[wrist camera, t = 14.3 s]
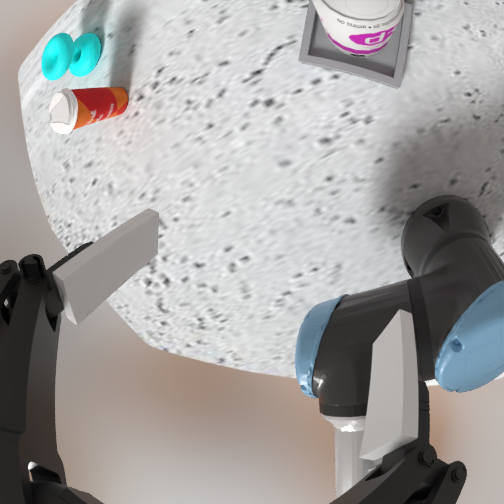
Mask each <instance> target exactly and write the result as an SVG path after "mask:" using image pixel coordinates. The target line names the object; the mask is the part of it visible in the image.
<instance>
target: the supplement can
mask: <svg viewBox="0 0 504 504" xmlns="http://www.w3.org/2000/svg"><path fill="white" fill-rule="evenodd" d="M312 1H313V4H314V6H315V8H316V10H317V13H318V15H319V17H320V19H321V22H322V24H323V27H324V29H325V31H326V34H327V36H328V39H329V40H330V41H331V43H332V44H333V45H334V46H335V47H336V48H337V49H339V50H340V51H342V52H343V53H345V54H348V55H351V56H354V57H370V56H374V55H377V54H378V53H380V52H381V51H382V50H383V49H385V47H386V45H387V43H388V41H389V39H390V38H391V36H392V34H393V32H394V30H395V28H396V26H397V25H398V23H399V21H400V19H401V17H402V15H403V13H404V11H405V5H404V0H312Z"/></svg>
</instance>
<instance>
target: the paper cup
mask: <svg viewBox="0 0 504 504" xmlns="http://www.w3.org/2000/svg"><path fill="white" fill-rule="evenodd" d="M127 105H128V95H127V92H126V91H125V90H124V89H123V88H120V87H104V88H86V89H74V90H70V89H67V88H66V89H63V90H61V91H60V92H58V93H57V94H55V95H54V97H53V98H52V100H51V103H50V107H49V112H50V121H51V126H52V128H53V130H54V131H55V132H57V133H63V134H68V133H70V132H71V131H72V130H74V129H76V128H79V127H82V126H85V125H88V124H91V123H94V122H97V121H100V120H104V119H107V118H110V117H114V116H117V115H120V114H122V113H123V112H124V111H125V110H126V108H127Z"/></svg>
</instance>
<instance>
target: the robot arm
mask: <svg viewBox="0 0 504 504" xmlns="http://www.w3.org/2000/svg"><path fill="white" fill-rule="evenodd" d="M158 224H159V213H158V212H156V211H153V210H151V209H146V210H145V211H143V212H141V213H140V214H138V215H136V216H135V217H133V218H132V219H130V220H128V221H127V222H125V223H124V224H122V225H120V226H119V227H117V228H116V229H114V230H113V231H111V232H110V233H108V234H106V235H105V236H103V237H102V238H100V239H99V240H97V241H96V242H89V243H86V244H83V245H81V246H80V247H78V248H77V249H75V250H74V251H72V252H71V253H69V254H68V256H65V257H64V258H62V259H61V260H60V261H58V262H57V263H55V264H54V265H53V266H51V267H50V268H49V269H48V270H46V268H45V265H44V261H43V258H42V257H41V256H40V255H37V254H31V255H28V256H25V257H24V258H23V259H21V260H20V262H19V263H18V265H19V268H20V270H19V268H18V265H17V263H16V262H15V261H13V260H7V261H4V262H3V263H1V264H0V504H103V503H102V502H100V501H99V500H98V499H96V498H95V497H93V496H92V495H91V494H89V493H86V492H82V491H79V490H77V489H74V488H72V487H68V486H67V484H66V478H65V471H64V466H63V463H62V460H61V458H60V456H59V454H58V452H57V444H56V429H55V375H56V360H57V348H58V339H59V331H60V323H61V313H60V312H61V311H63V310H65V313H66V315H67V318H69V319H70V320H71V321H72V322H73V323H75V324H76V325H79V324H80V323H81V322H82V321H83V320H84V319H85V318H86V317H87V316H88V315H90V314H91V313H92V312H93V311H94V310H95V309H96V308H97V307H98V306H99V305H100V304H101V303H102V302H103V301H105V300H106V299H107V298H108V297H109V296H110V295H111V294H112V293H114V292H115V291H116V290H117V289H118V288H119V287H120V286H121V285H122V284H124V283H125V282H126V281H127V280H128V279H129V278H130V277H132V276H133V275H134V274H135V273H136V272H137V271H138V270H140V269H141V268H142V267H143V266H144V265H145V264H147V263H148V262H149V261H150V260H151V259H153V258H154V257H155V256H156V255H157V254H158ZM401 251H402V256H403V261H404V264H405V267H406V269H407V271H408V273H409V275H410V276H411V278H412V279H408V280H404V281H400V282H397V283H394V284H390V285H387V286H383V287H380V288H376V289H372V290H369V291H365V292H361V293H356V294H352V295H348V294H344V295H341V296H340V297H339V298H336V299H333V300H329V301H326V302H322V303H319V304H317V305H315V306H314V307H313V308H312V309H311V310H310V311H309V312H308V313H307V315H306V316H305V318H304V321H303V323H302V325H301V327H300V330H299V333H298V338H297V343H296V353H295V368H296V376H297V380H298V383H299V384H300V385H301V390H302V392H303V393H304V394H305V395H307V396H310V397H312V398H319V406H320V415H321V416H322V417H324V418H325V419H326V420H328V421H329V422H331V423H332V424H333V426H334V436H335V462H336V500H334V501H333V502H332V503H330V504H456V502H457V499H458V497H459V495H460V493H461V490H462V488H463V485H464V483H465V480H466V476H467V470H466V467H465V465H464V464H463V463H462V462H460V461H455V462H453V463H451V464H447V463H445V462H443V461H441V460H440V459H438V458H437V455H436V451H435V449H434V447H433V446H431V445H430V444H429V431H430V428H429V427H430V423H429V422H430V417H429V416H430V414H429V391H428V389H427V386H426V383H425V382H423V381H427V380H431V379H436V381H437V382H438V383H439V385H440V386H441V387H442V388H443V389H444V390H447V391H449V392H453V391H456V392H467V391H471V390H474V389H477V388H479V387H481V386H483V385H485V384H487V383H489V382H490V381H492V380H493V379H495V378H496V377H498V376H499V375H500V374H501V373H503V372H504V263H503V261H502V260H501V258H500V257H499V256H498V254H497V253H496V251H495V250H494V249H493V247H492V246H491V242H490V238H489V232H488V228H487V225H486V222H485V220H484V218H483V217H482V215H481V214H480V212H479V211H478V210H477V209H476V208H475V207H474V206H473V205H472V204H471V203H470V202H468V201H467V200H465V199H463V198H460V197H456V196H440V197H436V198H433V199H431V200H429V201H427V202H425V203H424V204H422V205H421V206H420V207H419V208H417V209H416V210H415V211H414V213H413V214H412V215H411V217H410V218H409V220H408V221H407V223H406V225H405V228H404V230H403V234H402V239H401ZM6 299H7V301H8V305H7V306H5V305H4V302H5V300H6ZM28 469H29V470H30V472H31V474H32V479H33V481H30V478H29V470H28Z"/></svg>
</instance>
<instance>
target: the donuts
mask: <svg viewBox="0 0 504 504" xmlns="http://www.w3.org/2000/svg"><path fill="white" fill-rule="evenodd" d="M100 52H101V44H100V40H99V38H98V37H97V36H96V35H95V34H93V33H85V34H83V35H81V36H80V37H78V38H77V39H76V40H75V41H74V43H73V40H72V38H71V36H70V35H68V34H67V33H59V34H57V35H55V36H54V37H52V38H51V39H50V41H49V42H48V44H47V45H46V47H45V50H44V52H43V56H42V72H43V74H44V76H45V77H46V78H47V79H48V80H57V79H59V78H60V77H62V76H63V75H64V74H65V73H66V71H67V70H68V68H69V70H70V72H71V73H72V74H73V75H75V76H78V77H81V76H85V75H87V74H88V73H90V72H91V71H92V70H93V69H94V67H95V66H96V64H97V62H98V60H99V57H100Z"/></svg>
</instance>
